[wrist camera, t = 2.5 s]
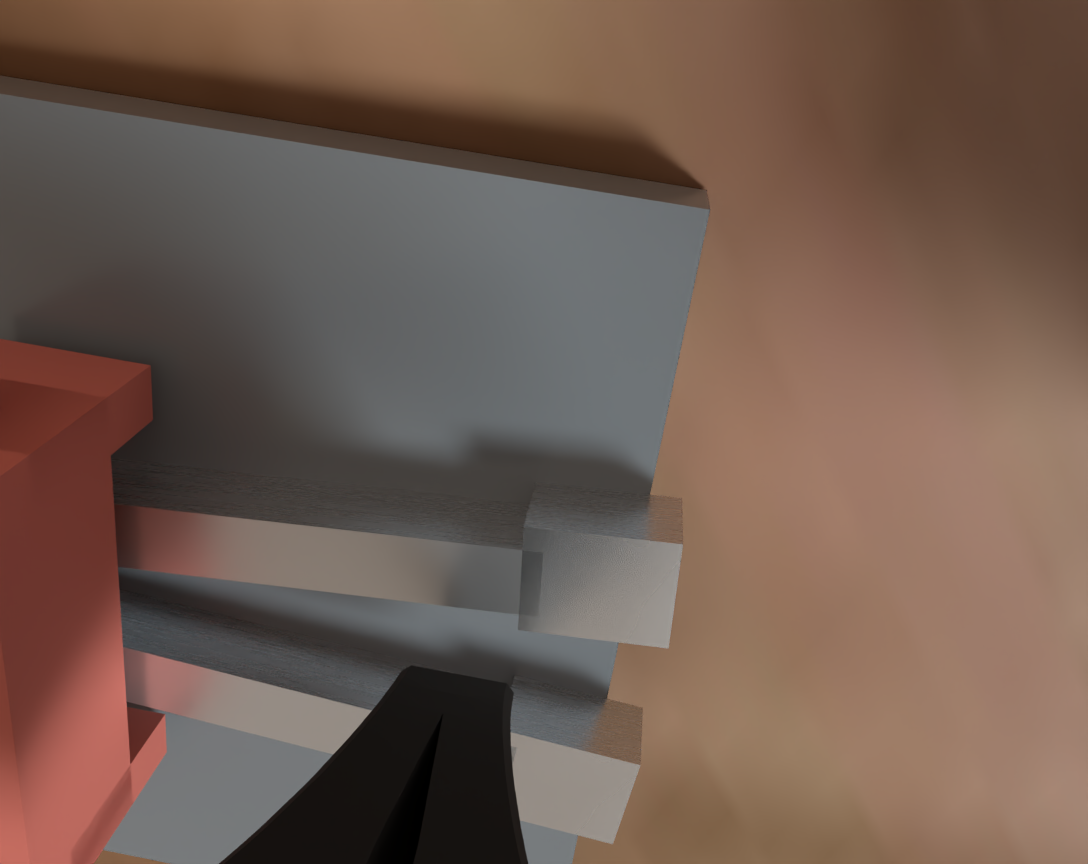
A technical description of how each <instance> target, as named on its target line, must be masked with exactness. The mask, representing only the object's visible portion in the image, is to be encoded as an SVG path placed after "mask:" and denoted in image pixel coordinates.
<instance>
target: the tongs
mask: <svg viewBox="0 0 1088 864" xmlns="http://www.w3.org/2000/svg"><path fill="white" fill-rule="evenodd" d="M111 465H112V481H113V497H114V513H115V529H116V545H117V560H118V567H122V568H130V569H139V570H147V571H155V572H164V573H172V574H181V575H189V576H197V577H206V578H214V579H222V580H231V581H239V582H248V583H256V584H264V585H273V586H281V587H289V588H298V589H306V590H315V591H323V592H331V593H340V594H348V595H356V596H365V597H373V598H382V599H390V600H398V601H407V602H415V603H423V604H432V605H440V606H449V607H457V608H465V609H474V610H482V611H490V612H499V613H507V614H516V615H519V618H518V630H520V631H529V632H537V633H545V634H553V635H562V636H570V637H578V638H587V639H595V640H603V641H611V642H620V643H628V644H636V645H645V646H653V647H661V648H669V641H670V633H671V626H672V619H673V612H674V605H675V597H676V590H677V583H678V576H679V569H680V562H681V554H682V547H683V525H682V498H675V497H666V496H657V495H648V494H638V493H629V492H620V491H610V490H601V489H592V488H583V487H573V486H564V485H555V484H546V483H535V487H534V491H533V494H532V498H531V502H530V504H523V503H513V502H504V501H495V500H486V499H477V498H468V497H459V496H450V495H441V494H431V493H422V492H413V491H404V490H395V489H386V488H377V487H368V486H359V485H350V484H340V483H331V482H322V481H313V480H304V479H295V478H286V477H277V476H268V475H259V474H249V473H240V472H231V471H222V470H213V469H204V468H195V467H186V466H177V465H168V464H158V463H149V462H140V461H131V460H122V459H113V458H111ZM119 592H120V608H121V624H122V639H123V655H124V671H125V687H126V701H127V702H130V703H134V704H138V705H142V706H146V707H150V708H154V709H158V710H162V711H166V712H170V713H173V714H177V715H181V716H185V717H189V718H193V719H197V720H201V721H205V722H209V723H212V724H216V725H220V726H224V727H228V728H232V729H236V730H240V731H244V732H248V733H252V734H255V735H259V736H263V737H267V738H271V739H275V740H279V741H283V742H287V743H291V744H295V745H298V746H302V747H306V748H310V749H314V750H318V751H322V752H326V753H330V754H334V753H335V752H336V751H337V750H338V749H339V748H340V747H341V746H342V745H343V743H344V742H345V741H346V740H347V739H348V738H349V737H350V736H351V735H352V733H353V732H354V731H355V730H356V729H357V728H358V726H359V725H360V724H361V723H362V722H363V721H364V719H365V718H366V717H367V716H368V715H369V713H370V712H371V711H372V710H373V709H374V707H375V706H376V705H377V704H378V702H379V701H380V700H381V699H382V697H383V696H384V695H385V693H386V692H387V691H388V689H389V688H390V687H391V685H392V684H393V683H394V681H395V680H396V678H397V677H398V675H399V674H400V672H401V671H402V670H404V669H406V668H407V667H409V666H411V665H412V666H418V667H423V668H428V669H434V670H439V671H444V670H440V669H436V668H432V667H428V666H424V665H420V664H416V663H412V662H408V661H404V660H400V659H396V658H392V657H388V656H385V655H381V654H377V653H373V652H369V651H365V650H361V649H357V648H353V647H349V646H345V645H341V644H337V643H333V642H330V641H326V640H322V639H318V638H314V637H310V636H306V635H302V634H298V633H294V632H290V631H286V630H282V629H278V628H274V627H271V626H267V625H263V624H259V623H255V622H251V621H247V620H243V619H239V618H235V617H231V616H227V615H223V614H219V613H215V612H212V611H208V610H204V609H200V608H196V607H192V606H188V605H184V604H180V603H176V602H172V601H168V600H164V599H160V598H156V597H153V596H149V595H145V594H141V593H137V592H133V591H129V590H125V589H121V588H119ZM444 672H447V671H444ZM449 673H451V672H449ZM511 689H512V691H513V692H514V696H513V702H512V709H511V728H510V729H511V753H512V767H513V776H514V785H515V792H516V798H517V805H518V811H519V817H520V821H524V822H528V823H532V824H536V825H540V826H544V827H548V828H552V829H556V830H559V831H563V832H567V833H571V834H575V835H579V836H583V837H587V838H591V839H595V840H598V841H602V842H606V843H610V844H613V842H614V839H615V836H616V833H617V830H618V828H619V825H620V822H621V819H622V816H623V813H624V811H625V808H626V805H627V802H628V799H629V796H630V793H631V791H632V788H633V785H634V782H635V779H636V776H637V773H638V771H639V768H640V762H641V737H642V712H643V708H641V707H637V706H633V705H629V704H626V703H622V702H618V701H614V700H610V699H606V698H602V697H598V696H594V695H590V694H586V693H582V692H578V691H574V690H570V689H567V688H563V687H559V686H555V685H551V684H547V683H543V682H539V681H535V680H531V679H527V678H523V677H519V676H514V680H513V684H512V688H511Z"/></svg>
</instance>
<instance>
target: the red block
mask: <svg viewBox="0 0 1088 864" xmlns="http://www.w3.org/2000/svg"><path fill="white" fill-rule="evenodd" d="M152 420H153V408H152V384H151V365H146V364H140V363H135V362H129V361H123V360H118V359H112V358H106V357H101V356H95V355H89V354H84V353H78V352H72V351H67V350H61V349H55V348H50V347H44V346H38V345H33V344H27V343H21V342H16V341H10V340H4V339H0V864H94V862H95V861H96V859H97V858H98V856H99V855H100V853H101V852H102V850H103V849H104V847H105V846H106V844H107V843H108V841H109V840H110V838H111V836H112V835H113V833H114V832H115V830H116V829H117V827H118V826H119V824H120V823H121V821H122V820H123V818H124V817H125V815H126V814H127V812H128V811H129V809H130V807H131V806H132V804H133V803H134V801H135V800H136V798H137V797H138V795H139V794H140V792H141V791H142V789H143V788H144V786H145V785H146V783H147V782H148V780H149V778H150V777H151V775H152V774H153V772H154V771H155V769H156V768H157V766H158V765H159V763H160V762H161V760H162V759H163V757H164V756H165V754H166V752H167V746H166V722H165V714H161V713H156V712H151V711H146V710H141V709H136V708H130V707H127V703H126V687H125V671H124V655H123V639H122V624H121V608H120V592H119V576H118V560H117V545H116V529H115V513H114V497H113V481H112V465H111V455H112V454H113V453H114V452H115V451H117V450H118V449H119V448H120V447H121V446H123V445H124V444H125V443H126V442H127V441H128V440H130V439H131V438H132V437H133V436H134V435H136V434H137V433H138V432H139V431H140V430H141V429H143V428H144V427H145V426H146V425H147V424H149V423H150V422H151V421H152Z"/></svg>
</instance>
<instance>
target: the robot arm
mask: <svg viewBox="0 0 1088 864" xmlns="http://www.w3.org/2000/svg"><path fill="white" fill-rule="evenodd" d="M513 696H514V692H513V691H512V689H511V688H510V687H509V686H508V684H507V683H502V682H497V681H492V680H487V679H481V678H476V677H471V676H465V675H460V674H455V673H449V672H444V671H439V670H434V669H428V668H423V667H418V666H412V665H411V666H409V667H407V668H406V669H404V670H402V671H401V672H400V674H399V675H398V677H397V678H396V680H395V681H394V683H393V684H392V685H391V687H390V688H389V689H388V691H387V692H386V693H385V695H384V696H383V697H382V699H381V700H380V701H379V702H378V704H377V705H376V706H375V707H374V709H373V710H372V711H371V712H370V713H369V715H368V716H367V717H366V718H365V719H364V721H363V722H362V723H361V724H360V725H359V726H358V728H357V729H356V730H355V731H354V732H353V733H352V735H351V736H350V737H349V738H348V739H347V740H346V741H345V742H344V743H343V745H342V746H341V747H340V748H339V749H338V750H337V751H336V752H335V753H334V754H333V755H332V756H331V758H330V759H329V760H328V761H327V762H326V763H325V764H324V765H323V766H322V767H321V768H320V769H319V771H318V772H317V773H316V774H315V775H314V776H313V777H312V778H311V779H310V780H309V781H308V782H307V783H306V784H305V785H304V786H303V787H302V788H301V789H300V790H299V791H298V792H297V793H296V794H295V795H294V796H293V797H292V798H290V799H289V800H288V801H287V802H286V803H285V804H284V805H283V806H282V807H281V808H280V809H279V810H278V811H277V812H276V813H275V814H274V815H273V816H272V817H271V818H270V819H269V820H268V821H267V822H266V823H264V824H263V825H262V826H261V827H260V828H259V829H258V830H257V831H256V832H255V833H254V834H252V835H251V836H250V837H249V838H248V839H247V840H246V841H245V842H243V843H242V844H241V845H240V846H239V847H238V848H237V849H235V850H234V851H233V852H232V853H231V854H230V855H228V856H227V857H226V858H225V859H224V860H222V861H221V862H220V863H219V864H528V860H527V855H526V850H525V845H524V840H523V835H522V830H521V824H520V817H519V811H518V805H517V798H516V792H515V785H514V776H513V767H512V753H511V729H510V728H511V709H512V702H513Z"/></svg>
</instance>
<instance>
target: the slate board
mask: <svg viewBox="0 0 1088 864" xmlns="http://www.w3.org/2000/svg"><path fill="white" fill-rule="evenodd" d="M709 212H710V207H709V201H708V195H707V190H702V189H696V188H690V187H684V186H678V185H672V184H665V183H659V182H653V181H647V180H641V179H635V178H628V177H622V176H616V175H610V174H604V173H598V172H592V171H585V170H579V169H573V168H567V167H561V166H555V165H548V164H542V163H536V162H530V161H524V160H518V159H512V158H505V157H499V156H493V155H487V154H481V153H475V152H468V151H462V150H456V149H450V148H444V147H438V146H432V145H425V144H419V143H413V142H407V141H401V140H395V139H388V138H382V137H376V136H370V135H364V134H358V133H352V132H345V131H339V130H333V129H327V128H321V127H315V126H308V125H302V124H296V123H290V122H284V121H278V120H272V119H265V118H259V117H253V116H247V115H241V114H235V113H228V112H222V111H216V110H210V109H204V108H198V107H192V106H185V105H179V104H173V103H167V102H161V101H155V100H148V99H142V98H136V97H130V96H124V95H118V94H112V93H105V92H99V91H93V90H87V89H81V88H75V87H68V86H62V85H56V84H50V83H44V82H38V81H32V80H25V79H19V78H13V77H7V76H1V75H0V339H4V340H10V341H16V342H21V343H27V344H33V345H38V346H44V347H50V348H55V349H61V350H67V351H72V352H78V353H84V354H89V355H95V356H101V357H106V358H112V359H118V360H123V361H129V362H135V363H140V364H146V365H151V384H152V408H153V420H152V421H151V422H150V423H149V424H147V425H146V426H145V427H144V428H143V429H141V430H140V431H139V432H138V433H137V434H136V435H134V436H133V437H132V438H131V439H130V440H128V441H127V442H126V443H125V444H124V445H123V446H121V447H120V448H119V449H118V450H117V451H115V452H114V453H113V454H112V455H111V458H113V459H122V460H131V461H140V462H149V463H158V464H168V465H177V466H186V467H195V468H204V469H213V470H222V471H231V472H240V473H249V474H259V475H268V476H277V477H286V478H295V479H304V480H313V481H322V482H331V483H340V484H350V485H359V486H368V487H377V488H386V489H395V490H404V491H413V492H422V493H431V494H441V495H450V496H459V497H468V498H477V499H486V500H495V501H504V502H513V503H523V504H530V502H531V498H532V494H533V491H534V487H535V483H546V484H555V485H564V486H573V487H583V488H592V489H601V490H610V491H620V492H629V493H638V494H648V495H650V491H651V487H652V482H653V477H654V472H655V468H656V463H657V458H658V454H659V449H660V444H661V439H662V435H663V430H664V425H665V420H666V416H667V411H668V406H669V402H670V397H671V392H672V387H673V383H674V378H675V373H676V368H677V364H678V359H679V354H680V349H681V345H682V340H683V335H684V331H685V326H686V321H687V316H688V312H689V307H690V302H691V297H692V293H693V288H694V283H695V278H696V274H697V269H698V264H699V260H700V255H701V250H702V245H703V241H704V236H705V231H706V226H707V222H708V217H709ZM118 576H119V588H121V589H125V590H129V591H133V592H137V593H141V594H145V595H149V596H153V597H156V598H160V599H164V600H168V601H172V602H176V603H180V604H184V605H188V606H192V607H196V608H200V609H204V610H208V611H212V612H215V613H219V614H223V615H227V616H231V617H235V618H239V619H243V620H247V621H251V622H255V623H259V624H263V625H267V626H271V627H274V628H278V629H282V630H286V631H290V632H294V633H298V634H302V635H306V636H310V637H314V638H318V639H322V640H326V641H330V642H333V643H337V644H341V645H345V646H349V647H353V648H357V649H361V650H365V651H369V652H373V653H377V654H381V655H385V656H388V657H392V658H396V659H400V660H404V661H408V662H412V663H416V664H420V665H424V666H428V667H432V668H436V669H440V670H444V671H447V672H451V673H455V674H460V675H465V676H471V677H476V678H481V679H487V680H492V681H497V682H502V683H507V684H508V686H509V687H510V688H512V684H513V680H514V676H519V677H523V678H527V679H531V680H535V681H539V682H543V683H547V684H551V685H555V686H559V687H563V688H567V689H570V690H574V691H578V692H582V693H586V694H590V695H594V696H598V697H602V698H606V699H607V695H608V690H609V685H610V681H611V676H612V671H613V666H614V662H615V657H616V652H617V648H618V643H619V642H611V641H603V640H595V639H587V638H578V637H570V636H562V635H553V634H545V633H537V632H529V631H520V630H518V618H519V615H516V614H507V613H499V612H490V611H482V610H474V609H465V608H457V607H449V606H440V605H432V604H423V603H415V602H407V601H398V600H390V599H382V598H373V597H365V596H356V595H348V594H340V593H331V592H323V591H315V590H306V589H298V588H289V587H281V586H273V585H264V584H256V583H248V582H239V581H231V580H222V579H214V578H206V577H197V576H189V575H181V574H172V573H164V572H155V571H147V570H139V569H130V568H122V567H118ZM126 703H127V707H130V708H136V709H141V710H146V711H151V712H156V713H161V714H165V722H166V746H167V752H166V754H165V756H164V757H163V759H162V760H161V762H160V763H159V765H158V766H157V768H156V769H155V771H154V772H153V774H152V775H151V777H150V778H149V780H148V782H147V783H146V785H145V786H144V788H143V789H142V791H141V792H140V794H139V795H138V797H137V798H136V800H135V801H134V803H133V804H132V806H131V807H130V809H129V811H128V812H127V814H126V815H125V817H124V818H123V820H122V821H121V823H120V824H119V826H118V827H117V829H116V830H115V832H114V833H113V835H112V836H111V838H110V840H109V841H108V843H107V844H106V846H105V847H104V849H103V850H106V851H111V852H116V853H121V854H126V855H131V856H136V857H141V858H146V859H151V860H156V861H161V862H166V863H171V864H219V863H220V862H221V861H222V860H224V859H225V858H226V857H227V856H228V855H230V854H231V853H232V852H233V851H234V850H235V849H237V848H238V847H239V846H240V845H241V844H242V843H243V842H245V841H246V840H247V839H248V838H249V837H250V836H251V835H252V834H254V833H255V832H256V831H257V830H258V829H259V828H260V827H261V826H262V825H263V824H264V823H266V822H267V821H268V820H269V819H270V818H271V817H272V816H273V815H274V814H275V813H276V812H277V811H278V810H279V809H280V808H281V807H282V806H283V805H284V804H285V803H286V802H287V801H288V800H289V799H290V798H292V797H293V796H294V795H295V794H296V793H297V792H298V791H299V790H300V789H301V788H302V787H303V786H304V785H305V784H306V783H307V782H308V781H309V780H310V779H311V778H312V777H313V776H314V775H315V774H316V773H317V772H318V771H319V769H320V768H321V767H322V766H323V765H324V764H325V763H326V762H327V761H328V760H329V759H330V758H331V756H332V755H333V754H330V753H326V752H322V751H318V750H314V749H310V748H306V747H302V746H298V745H295V744H291V743H287V742H283V741H279V740H275V739H271V738H267V737H263V736H259V735H255V734H252V733H248V732H244V731H240V730H236V729H232V728H228V727H224V726H220V725H216V724H212V723H209V722H205V721H201V720H197V719H193V718H189V717H185V716H181V715H177V714H173V713H170V712H166V711H162V710H158V709H154V708H150V707H146V706H142V705H138V704H134V703H130V702H127V701H126ZM520 824H521V830H522V835H523V840H524V845H525V850H526V855H527V860H528V864H572V860H573V856H574V851H575V846H576V842H577V837H578V835H575V834H571V833H567V832H563V831H559V830H556V829H552V828H548V827H544V826H540V825H536V824H532V823H528V822H524V821H520Z"/></svg>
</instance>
